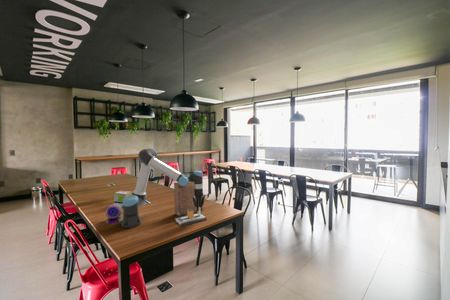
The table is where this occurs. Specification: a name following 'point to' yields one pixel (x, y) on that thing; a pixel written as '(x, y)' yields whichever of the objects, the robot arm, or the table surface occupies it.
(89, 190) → the table surface
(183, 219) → the panel
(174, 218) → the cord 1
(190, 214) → the lever
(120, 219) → the webcam
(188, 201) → the book
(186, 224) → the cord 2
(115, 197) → the tea box
